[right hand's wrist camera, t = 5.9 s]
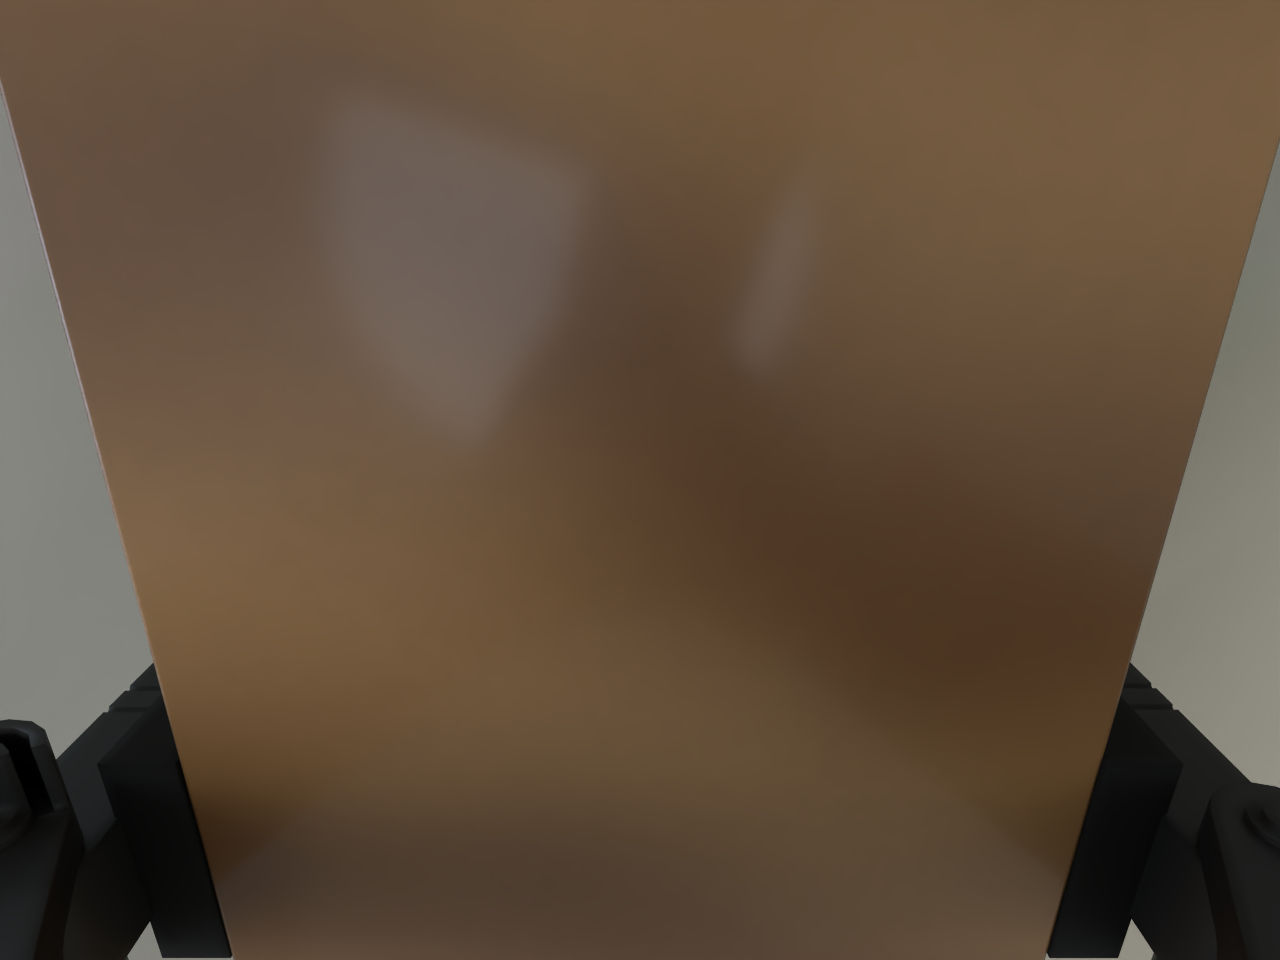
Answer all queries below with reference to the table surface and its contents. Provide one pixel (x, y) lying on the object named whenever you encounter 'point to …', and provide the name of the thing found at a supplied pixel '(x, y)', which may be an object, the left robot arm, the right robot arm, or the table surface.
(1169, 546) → the table surface
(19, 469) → the table surface
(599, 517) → the slab
